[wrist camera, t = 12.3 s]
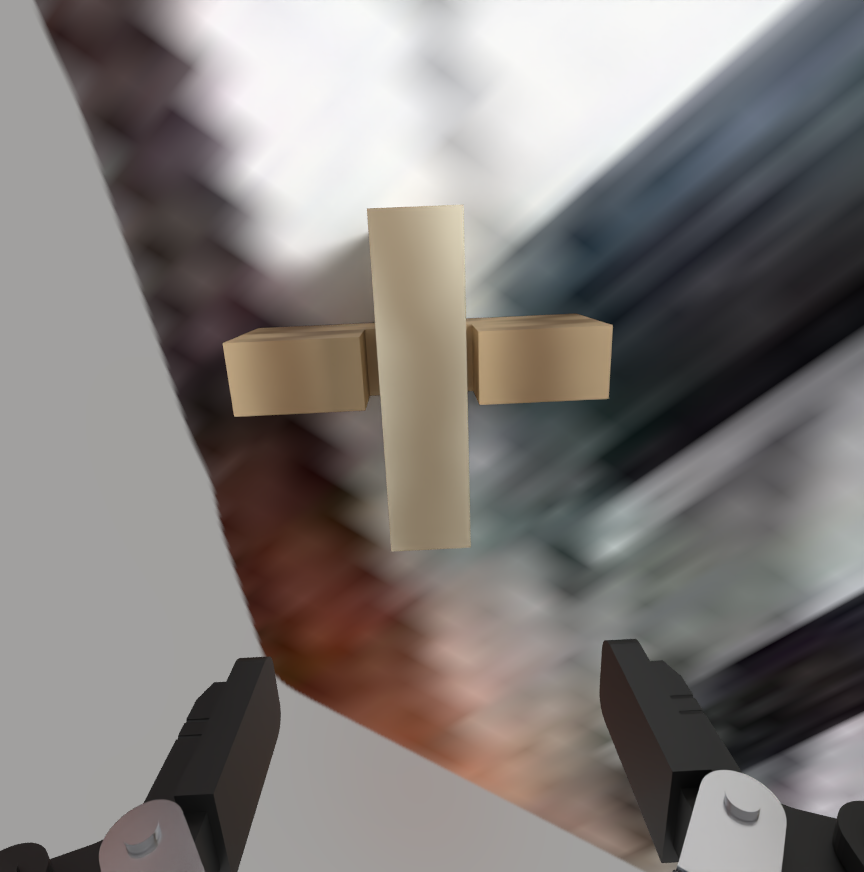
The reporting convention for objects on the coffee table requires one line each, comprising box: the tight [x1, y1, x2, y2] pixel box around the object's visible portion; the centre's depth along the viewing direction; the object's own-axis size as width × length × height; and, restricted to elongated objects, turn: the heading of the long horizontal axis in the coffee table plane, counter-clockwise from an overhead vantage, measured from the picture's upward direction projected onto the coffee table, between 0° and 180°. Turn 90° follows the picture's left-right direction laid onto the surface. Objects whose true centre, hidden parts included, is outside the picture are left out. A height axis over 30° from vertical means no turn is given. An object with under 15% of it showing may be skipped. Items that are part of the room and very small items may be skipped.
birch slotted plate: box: [367, 205, 471, 551], centre depth 27 cm, size 4×14×10 cm, turn 2°
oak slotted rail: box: [223, 314, 613, 417], centre depth 28 cm, size 18×4×6 cm, turn 92°
